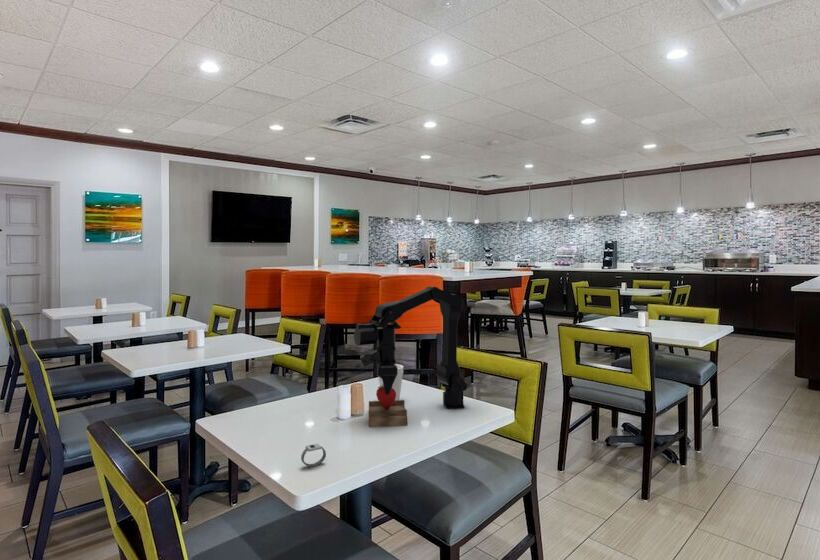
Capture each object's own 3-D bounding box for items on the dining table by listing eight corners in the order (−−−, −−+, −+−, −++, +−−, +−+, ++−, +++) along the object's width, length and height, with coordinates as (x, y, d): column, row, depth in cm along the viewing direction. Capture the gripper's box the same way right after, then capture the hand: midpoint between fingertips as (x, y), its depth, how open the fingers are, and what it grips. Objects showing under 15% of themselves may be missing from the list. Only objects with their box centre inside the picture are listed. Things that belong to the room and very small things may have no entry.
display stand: (403, 409, 164) (403, 397, 163) (407, 425, 148) (407, 412, 148) (368, 410, 163) (368, 399, 162) (369, 426, 147) (368, 414, 146)
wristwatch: (323, 460, 122) (323, 441, 122) (327, 464, 120) (327, 445, 120) (300, 466, 119) (299, 446, 119) (303, 470, 117) (303, 450, 117)
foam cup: (406, 399, 176) (406, 364, 175) (400, 406, 167) (400, 370, 166) (381, 397, 178) (381, 363, 177) (374, 404, 169) (374, 368, 168)
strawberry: (385, 415, 150) (385, 384, 149) (372, 409, 156) (371, 379, 155) (400, 411, 154) (400, 381, 153) (387, 405, 160) (386, 376, 159)
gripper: (361, 338, 163) (362, 383, 163) (361, 348, 144) (361, 399, 145) (394, 338, 164) (394, 382, 164) (397, 348, 145) (397, 398, 146)
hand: (386, 390), depth 155 cm, fingers open, 9 cm apart
